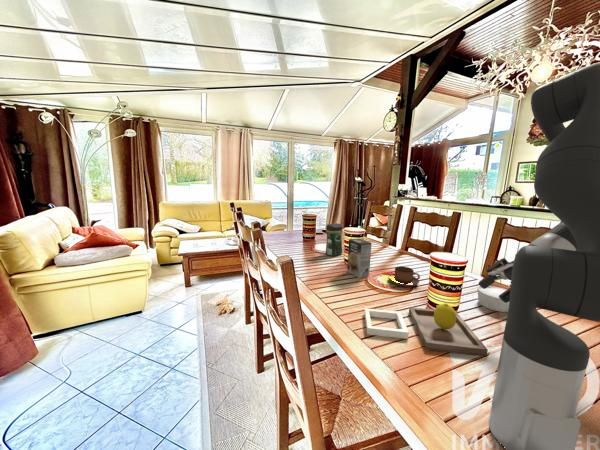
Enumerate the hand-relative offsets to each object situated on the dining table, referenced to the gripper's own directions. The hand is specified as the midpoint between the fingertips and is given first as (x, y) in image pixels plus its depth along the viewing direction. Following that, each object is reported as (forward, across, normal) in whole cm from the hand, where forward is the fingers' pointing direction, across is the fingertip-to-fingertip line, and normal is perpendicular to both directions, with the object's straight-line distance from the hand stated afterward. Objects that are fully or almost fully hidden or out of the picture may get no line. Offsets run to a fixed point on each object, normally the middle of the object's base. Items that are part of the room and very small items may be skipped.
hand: (490, 292), depth 66 cm
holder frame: (+28, -2, -9) cm, 30 cm away
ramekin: (-2, -19, +20) cm, 27 cm away
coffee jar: (+37, -74, -20) cm, 85 cm away
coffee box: (+30, -44, -12) cm, 54 cm away
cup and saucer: (+17, -36, +1) cm, 40 cm away
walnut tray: (+17, -1, +2) cm, 17 cm away
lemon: (+16, -1, +1) cm, 16 cm away
